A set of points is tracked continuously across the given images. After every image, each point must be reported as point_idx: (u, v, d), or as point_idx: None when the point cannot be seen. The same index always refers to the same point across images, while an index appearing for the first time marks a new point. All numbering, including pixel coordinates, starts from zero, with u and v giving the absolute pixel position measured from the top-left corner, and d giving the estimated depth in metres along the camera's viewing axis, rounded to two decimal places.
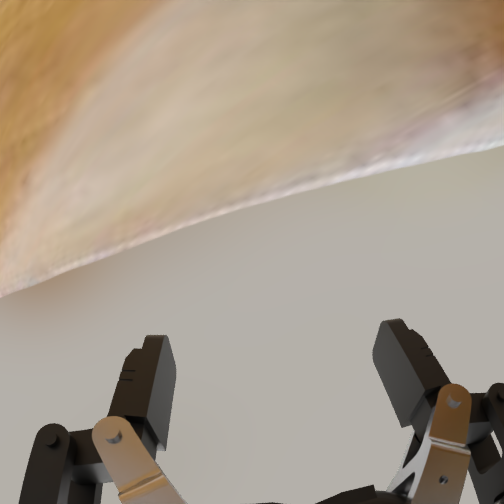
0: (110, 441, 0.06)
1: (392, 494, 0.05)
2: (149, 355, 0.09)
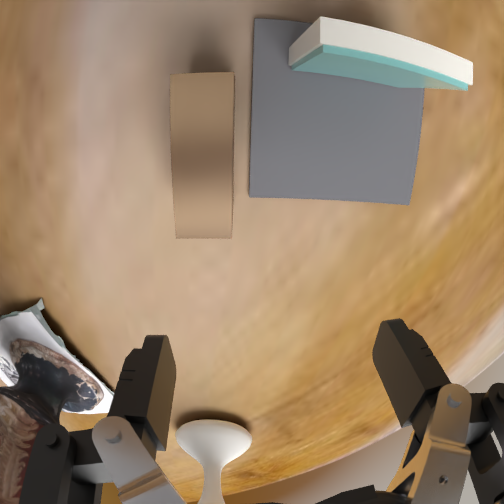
0: (110, 441, 0.06)
1: (392, 494, 0.05)
2: (149, 355, 0.09)
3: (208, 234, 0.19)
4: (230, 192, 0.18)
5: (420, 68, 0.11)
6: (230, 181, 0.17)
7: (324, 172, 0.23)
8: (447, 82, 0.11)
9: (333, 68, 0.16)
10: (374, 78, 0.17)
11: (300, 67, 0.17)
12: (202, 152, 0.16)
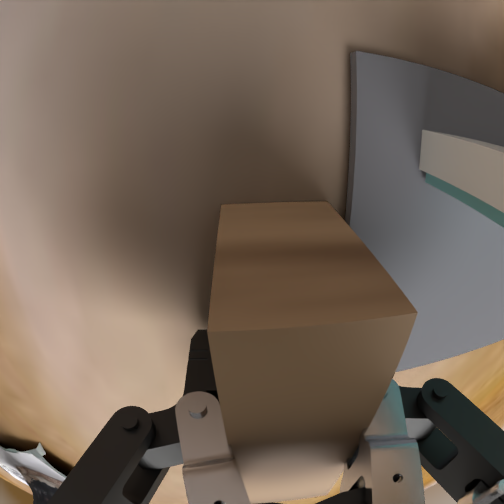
0: (198, 416, 0.07)
1: None
2: None
3: (293, 498, 0.09)
4: (340, 472, 0.08)
5: None
6: None
7: (434, 336, 0.13)
8: None
9: None
10: None
11: None
12: (300, 452, 0.07)
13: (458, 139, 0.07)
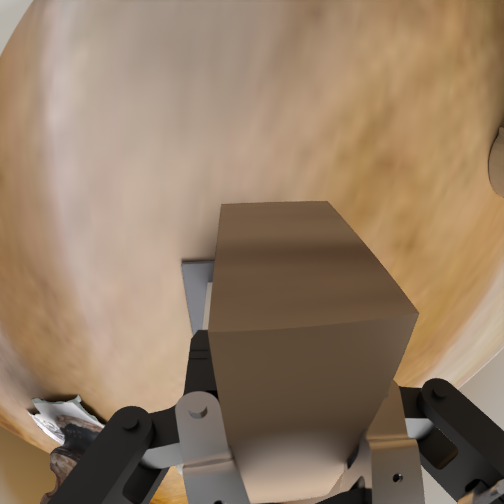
0: (198, 416, 0.07)
1: None
2: None
3: (292, 499, 0.09)
4: (339, 472, 0.08)
5: None
6: None
7: None
8: None
9: None
10: None
11: None
12: (301, 453, 0.07)
13: (206, 293, 0.30)
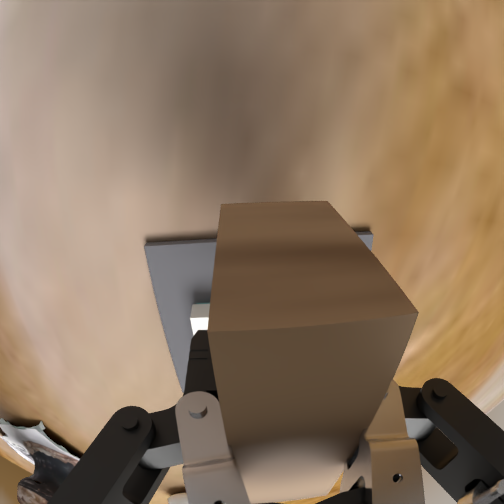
0: (198, 416, 0.07)
1: None
2: None
3: (292, 499, 0.09)
4: (339, 472, 0.08)
5: None
6: None
7: None
8: None
9: None
10: None
11: None
12: (301, 452, 0.07)
13: None
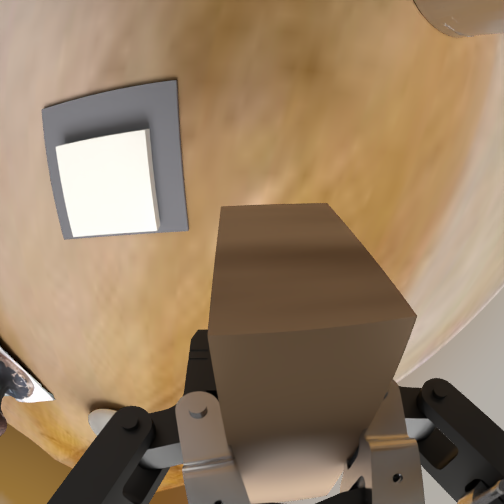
0: (198, 416, 0.07)
1: None
2: None
3: (292, 499, 0.09)
4: (339, 473, 0.08)
5: None
6: (343, 466, 0.07)
7: None
8: None
9: None
10: None
11: None
12: (300, 454, 0.07)
13: (59, 166, 0.23)
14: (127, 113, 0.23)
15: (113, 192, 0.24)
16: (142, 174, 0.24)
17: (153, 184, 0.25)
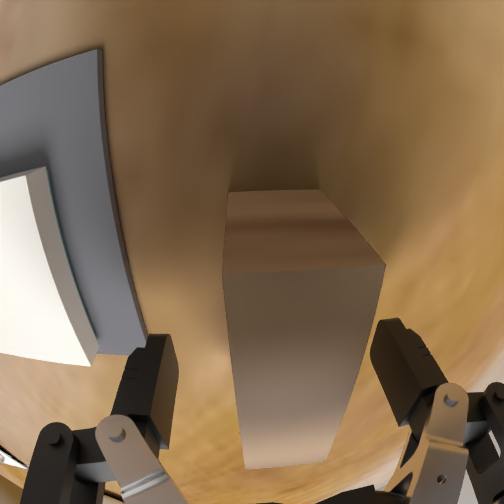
0: (114, 439, 0.06)
1: (390, 494, 0.05)
2: (152, 354, 0.09)
3: (293, 463, 0.11)
4: (335, 431, 0.09)
5: None
6: (338, 423, 0.09)
7: None
8: None
9: None
10: None
11: None
12: (298, 402, 0.08)
13: None
14: (10, 135, 0.09)
15: (5, 297, 0.10)
16: (39, 270, 0.10)
17: (67, 285, 0.11)
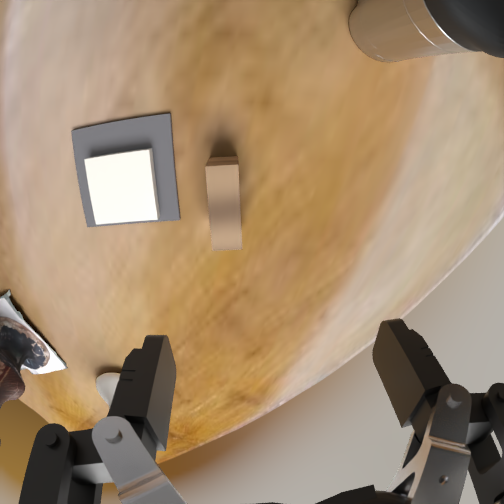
0: (110, 441, 0.06)
1: (392, 494, 0.05)
2: (149, 355, 0.09)
3: (229, 247, 0.36)
4: (240, 225, 0.35)
5: None
6: (240, 220, 0.34)
7: None
8: None
9: None
10: None
11: None
12: (224, 206, 0.34)
13: (86, 173, 0.34)
14: (136, 136, 0.34)
15: (127, 192, 0.35)
16: (147, 179, 0.35)
17: (155, 187, 0.36)
